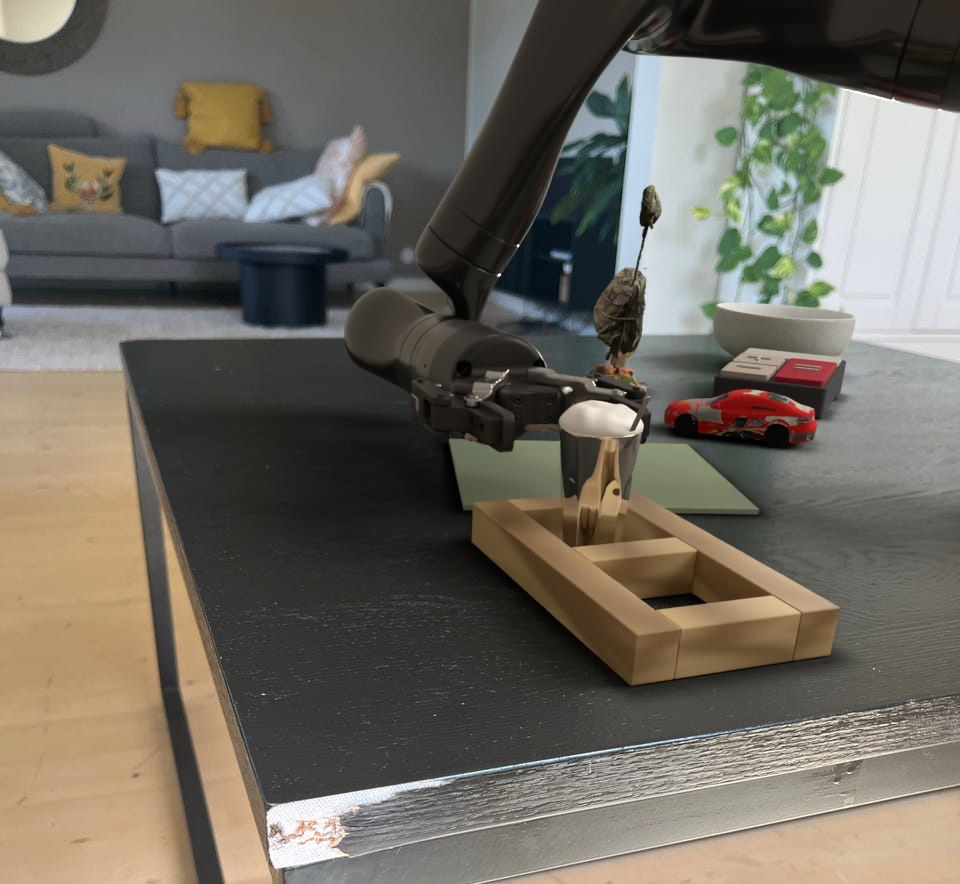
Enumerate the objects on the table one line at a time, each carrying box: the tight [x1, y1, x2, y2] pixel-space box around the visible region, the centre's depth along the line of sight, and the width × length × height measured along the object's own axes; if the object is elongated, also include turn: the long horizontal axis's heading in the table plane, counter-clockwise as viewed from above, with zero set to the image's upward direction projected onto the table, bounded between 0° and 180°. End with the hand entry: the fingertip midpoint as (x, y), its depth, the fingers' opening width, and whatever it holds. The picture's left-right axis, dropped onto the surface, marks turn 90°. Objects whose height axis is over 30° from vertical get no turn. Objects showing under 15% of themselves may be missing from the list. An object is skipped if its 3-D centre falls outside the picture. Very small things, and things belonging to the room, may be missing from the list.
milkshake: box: [558, 395, 652, 548], centre depth 54 cm, size 4×5×10 cm
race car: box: [663, 389, 818, 448], centre depth 87 cm, size 13×5×4 cm, turn 68°
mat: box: [448, 438, 760, 516], centre depth 74 cm, size 20×18×1 cm
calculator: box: [711, 348, 847, 419], centre depth 103 cm, size 11×4×15 cm
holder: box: [471, 490, 841, 687], centre depth 52 cm, size 11×19×2 cm, turn 21°
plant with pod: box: [583, 184, 663, 390], centre depth 102 cm, size 8×11×20 cm
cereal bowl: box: [712, 302, 857, 358], centre depth 121 cm, size 17×17×7 cm
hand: (577, 431), depth 56 cm, fingers open, 8 cm apart
